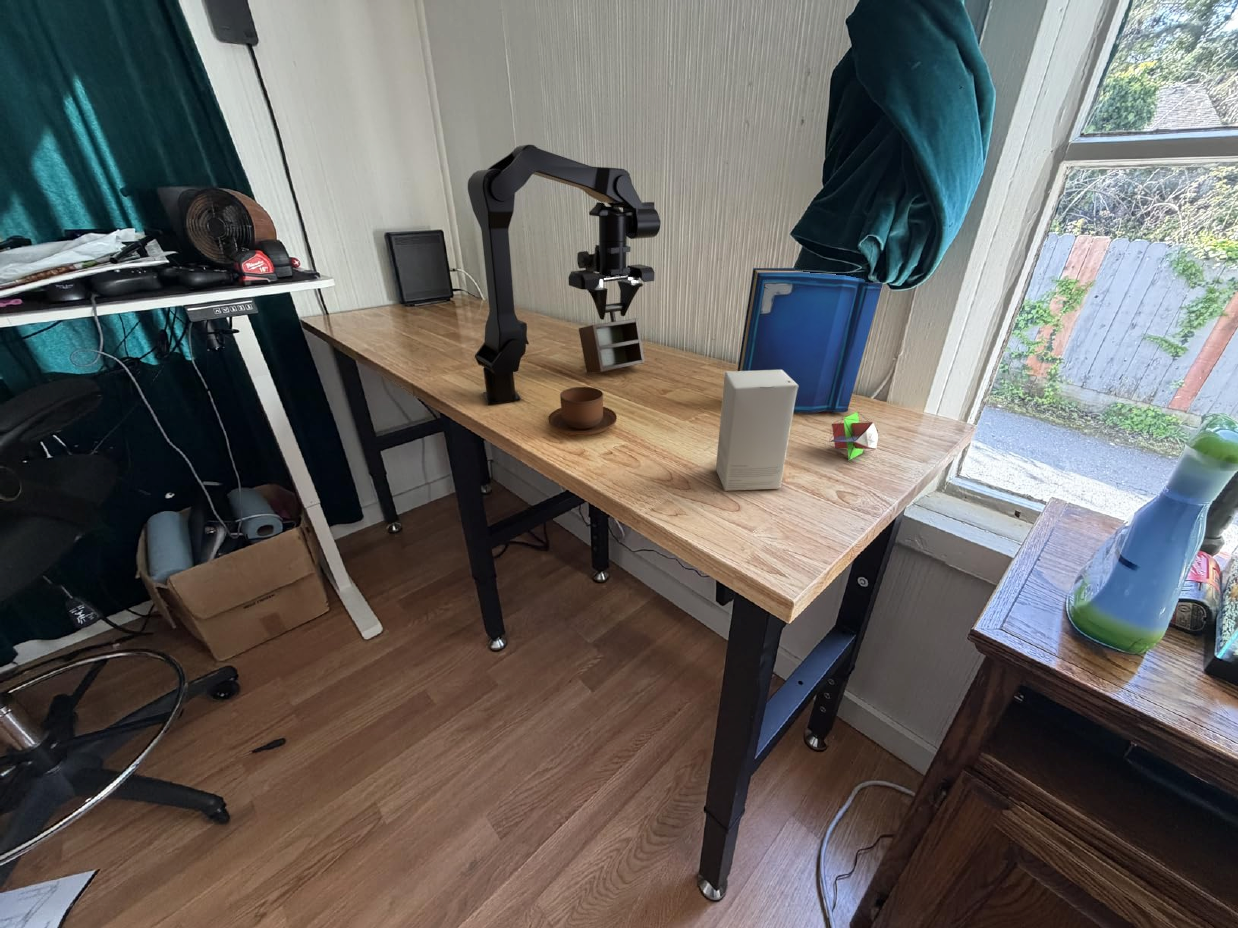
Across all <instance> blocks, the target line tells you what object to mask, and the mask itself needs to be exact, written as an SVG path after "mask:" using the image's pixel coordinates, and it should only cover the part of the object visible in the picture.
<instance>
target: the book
mask: <svg viewBox="0 0 1238 928" xmlns="http://www.w3.org/2000/svg"><path fill="white" fill-rule="evenodd" d="M795 268H796V267H753V268H752V275H751V282H750V287H749V294H748V300H747V307H746V314H745V320H744V326H743V332H742V338H741V344H740V345H741V346H740V352H739V359H738V363H737V364H738V365H737V371H759V370H783V371H784V372H785V373H786V374H787V375H788V376H789V377H790V378H791V379H792V380H793V381H794V382H795V383H796V384H797V385H798V386H799V387H798V390H797V394H796V399H795V405H794V411H793V414H807V415H809V414H810V415H811V414H815V413H821V412H828V413H837V414H839V413H840V414H841V413H846V412H848V410H849V407H850V403H851V400H852V396H853V392H854V389H855V385H856V382H857V378H858V374H859V370H860V367H861V364H862V360H863V357H864V352H865V349H866V345H867V342H868V339H869V336H870V335H869V334H870V331H871V328H872V324H873V320H874V316H875V313H876V309H877V306H878V304H879V299H880V295H881V292H882V288H883V285H884V284H883V282H881V283H869V282H865V280H864V279H862V278H856V277H851V276H846V275H836V274H821V273H810V272H803V271H795Z"/></svg>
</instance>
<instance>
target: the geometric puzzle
mask: <svg viewBox="0 0 1238 928" xmlns="http://www.w3.org/2000/svg"><path fill="white" fill-rule="evenodd" d="M859 415H860V416H862V414H861V413H860V412H859V411H858V410H857V411H856V412H854V413H851V414H849V415H847V416H845V417H842V418H841V420H840V419H839V420H838V419H837V420H836V421H834V422H831V423H830V424H831V427H830V428H831V430H832V432H831V431H830V433H829V434H831V433H832V436H830V438H829V440H828V443H834V445H833V448H834V449H835V450H837V451H839V450H840V449H841V450H843V451H847V456H848V457H847V458H848V459H847V461H851V460H853V459H855V458H857V457H859V456H863V455H864V454H865V453H866V454H867V453H868V454H869V452H873V451H875V450H878V448H877V447H878V442H879V436H880V435H879V433H878V431H879V429H877V428H876V425H875V422H874V421H868V420H869V418H867V417H866V415H863V418H866V421H865V420H864V422H861V420H860V418H859ZM832 438H833V439H832ZM866 450H867V451H866ZM840 454H841V455H842V456H843V457H845V455H844V454H843V453H842V452H840Z"/></svg>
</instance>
